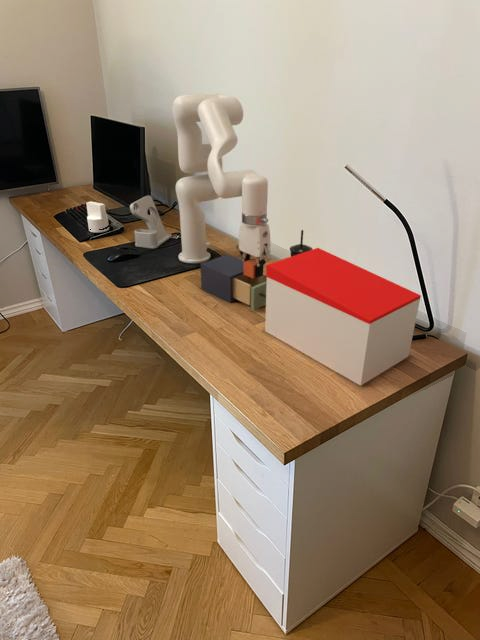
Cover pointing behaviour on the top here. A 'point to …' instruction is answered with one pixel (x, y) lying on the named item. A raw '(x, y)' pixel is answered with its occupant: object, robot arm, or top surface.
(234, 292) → the drawer
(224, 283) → the cabinet
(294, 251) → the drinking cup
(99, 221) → the base with upright slab
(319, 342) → the red-lidded white box
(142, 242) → the phone holder
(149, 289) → the top surface
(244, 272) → the block
